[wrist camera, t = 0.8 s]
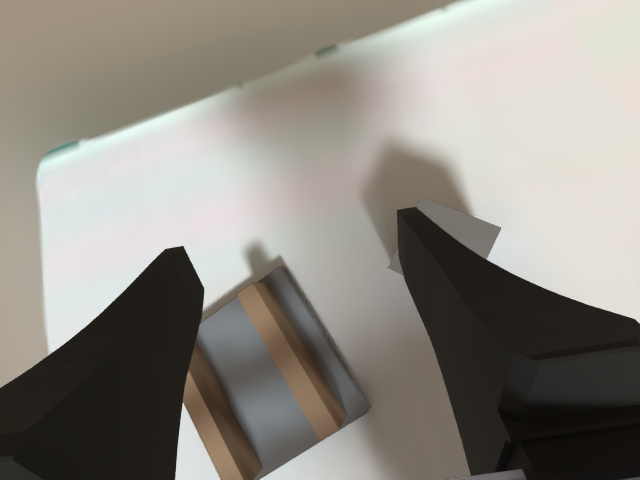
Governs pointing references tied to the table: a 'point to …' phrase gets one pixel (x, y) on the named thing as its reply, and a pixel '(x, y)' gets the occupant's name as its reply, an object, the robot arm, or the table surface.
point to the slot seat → (266, 381)
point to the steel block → (457, 229)
